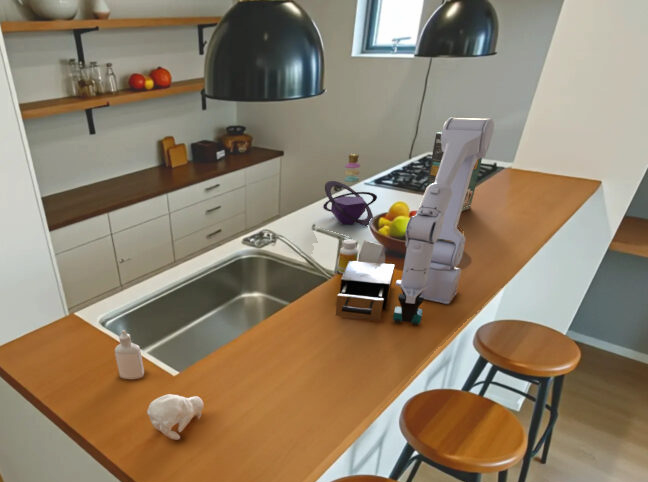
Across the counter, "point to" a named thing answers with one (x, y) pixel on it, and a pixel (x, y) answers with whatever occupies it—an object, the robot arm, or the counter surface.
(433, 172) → the cake mix box
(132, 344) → the eye dropper bottle
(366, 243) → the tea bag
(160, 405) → the white animal figurine
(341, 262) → the supplement bottle
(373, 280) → the cabinet
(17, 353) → the counter surface
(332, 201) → the decorative bottle
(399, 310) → the toy car
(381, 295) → the drawer
